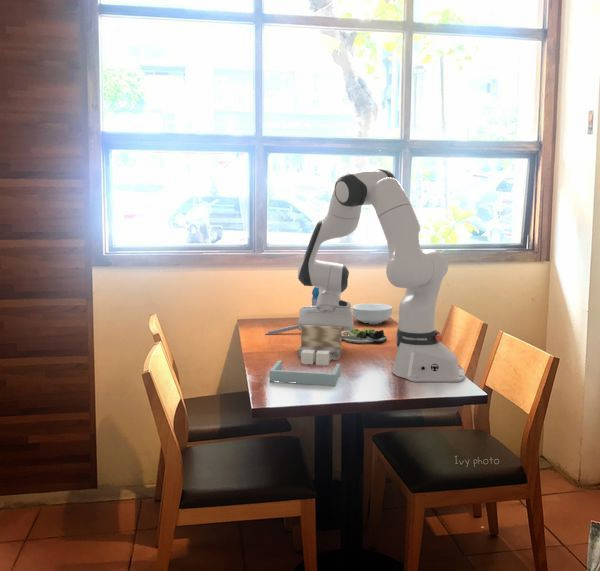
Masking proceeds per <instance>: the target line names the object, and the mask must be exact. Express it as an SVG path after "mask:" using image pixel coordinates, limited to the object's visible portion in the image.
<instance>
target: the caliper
mask: <svg viewBox="0 0 600 571" xmlns="http://www.w3.org/2000/svg"><path fill="white" fill-rule="evenodd" d="M294 330H298V331H301V329H300V327H299V325H298V324H295V325H290V326H286V327H281V328H277V329H273V330H268V331H267V332H265V333H264V335H266V334H267V335H276V334H275V333H277V334H281V333H284V332H289V331H290V332H291V331H294Z"/></svg>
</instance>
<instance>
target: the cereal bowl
mask: <svg viewBox="0 0 600 571" xmlns="http://www.w3.org/2000/svg"><path fill="white" fill-rule="evenodd" d="M351 308H352V315H353V318H355V319H356V320H358V321H360V322H362V323H363V322H364V323H363V324H365V323H369V324H368V325H379V323H380V324H382V322H384V321H387V320H388V319H389V318H390V317H391V315H392V313H393V307H392V305H389V304H384V303H371V302H370V303H369V302H367V303H366V302H365V303H359V304H355V305H353V306H351Z"/></svg>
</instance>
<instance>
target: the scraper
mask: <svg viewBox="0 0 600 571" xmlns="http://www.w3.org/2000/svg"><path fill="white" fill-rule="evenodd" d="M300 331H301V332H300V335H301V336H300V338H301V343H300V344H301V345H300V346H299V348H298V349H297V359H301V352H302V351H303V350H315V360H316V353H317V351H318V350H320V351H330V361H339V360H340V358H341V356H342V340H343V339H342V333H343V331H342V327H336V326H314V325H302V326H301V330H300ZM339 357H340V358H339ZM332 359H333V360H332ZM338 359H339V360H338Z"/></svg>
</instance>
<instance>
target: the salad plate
mask: <svg viewBox="0 0 600 571" xmlns="http://www.w3.org/2000/svg"><path fill="white" fill-rule="evenodd" d="M348 335H349V336H348ZM342 340H343V341H344V340H345V341H344V342H348V343H352V342H353V343H352V344H360V343H361V344H381V343H380V342H382V343H384V341H385V342H386V341H387V336H386V335H385V332H384V329H381V330H376V329H372V328H371V329H370V328H366V329H365V328H364V329H362V330H361V329H358V328H357V329H356V328H355V329H354V328H353V330H352V331H342Z"/></svg>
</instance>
